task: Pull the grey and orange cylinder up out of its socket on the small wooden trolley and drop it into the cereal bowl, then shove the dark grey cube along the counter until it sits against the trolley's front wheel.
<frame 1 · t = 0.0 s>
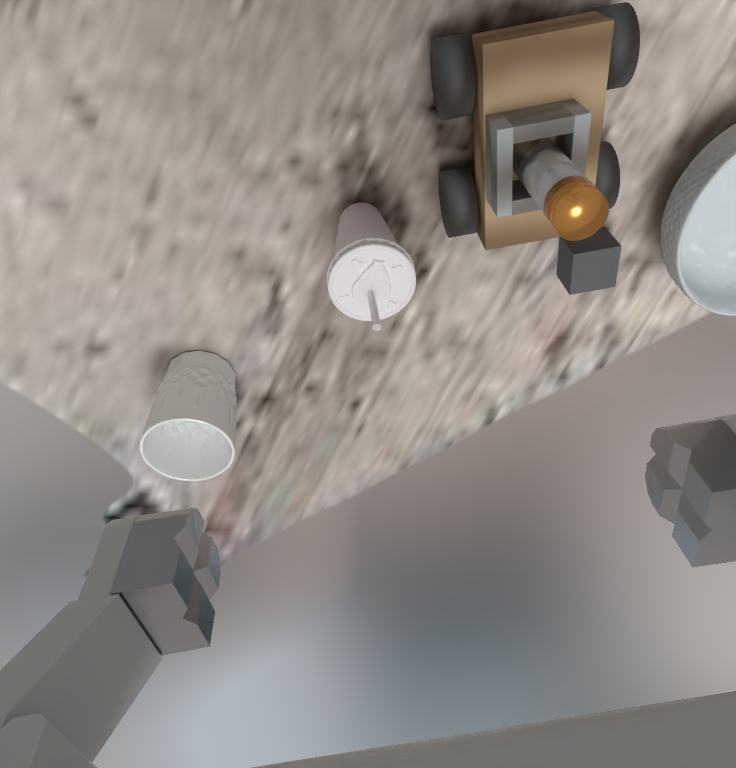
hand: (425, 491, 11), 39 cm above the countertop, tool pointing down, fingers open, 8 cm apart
white cup: (201, 375, 58), on the countertop
cereal bowl: (734, 187, 50), on the countertop
grey and orange cylinder: (527, 151, 40), point 6 cm above the countertop, touching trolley
dark grey cube: (579, 251, 53), on the countertop
smoothie: (360, 222, 49), on the countertop
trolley: (517, 120, 44), on the countertop
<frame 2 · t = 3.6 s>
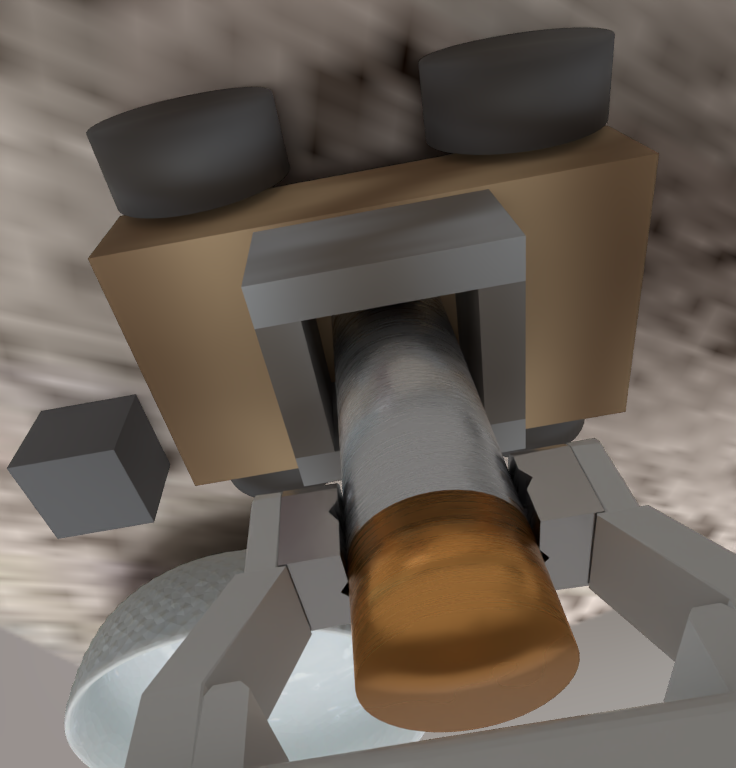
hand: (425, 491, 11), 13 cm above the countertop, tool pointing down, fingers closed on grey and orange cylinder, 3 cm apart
cereal bowl: (266, 596, 33), on the countertop
grey and orange cylinder: (386, 314, 16), point 6 cm above the countertop, touching gripper, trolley
dark grey cube: (109, 437, 25), on the countertop
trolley: (373, 258, 21), on the countertop
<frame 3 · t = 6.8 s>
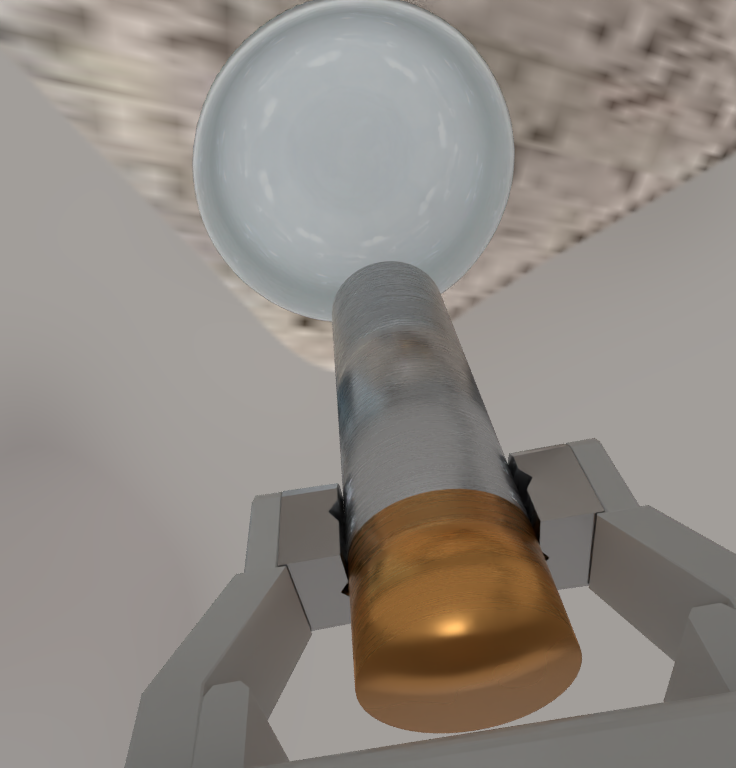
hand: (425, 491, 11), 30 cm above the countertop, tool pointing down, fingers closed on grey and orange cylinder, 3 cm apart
cereal bowl: (350, 149, 36), on the countertop
grey and orange cylinder: (387, 312, 16), point 24 cm above the countertop, touching gripper
when the fingers open (13 cm above the countertop, at t = 10.4 s): grey and orange cylinder stays where it is, resting on cereal bowl.
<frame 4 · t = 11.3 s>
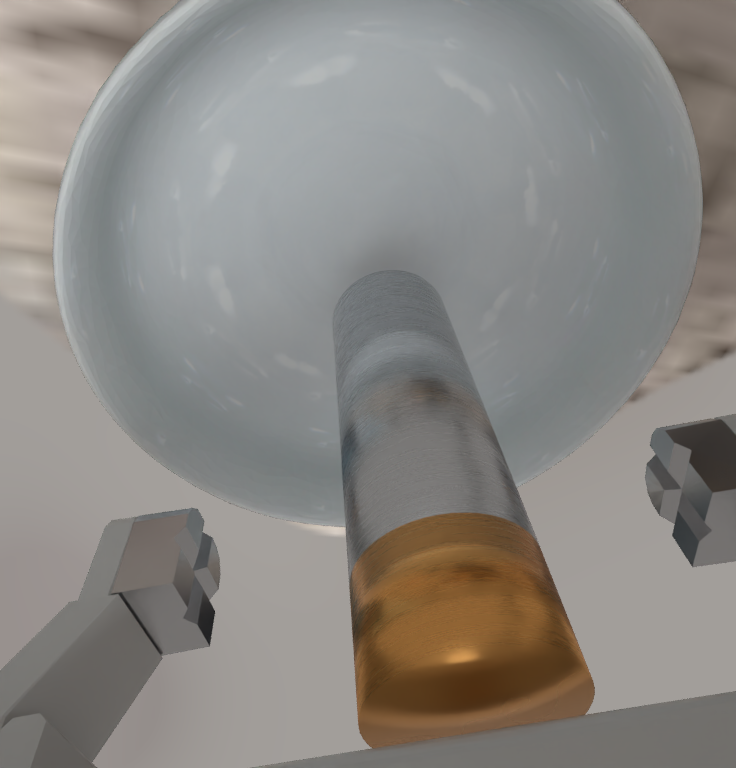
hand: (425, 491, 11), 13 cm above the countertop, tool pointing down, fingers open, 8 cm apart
cereal bowl: (367, 223, 21), on the countertop, touching grey and orange cylinder
grey and orange cylinder: (389, 322, 16), point 7 cm above the countertop, touching cereal bowl
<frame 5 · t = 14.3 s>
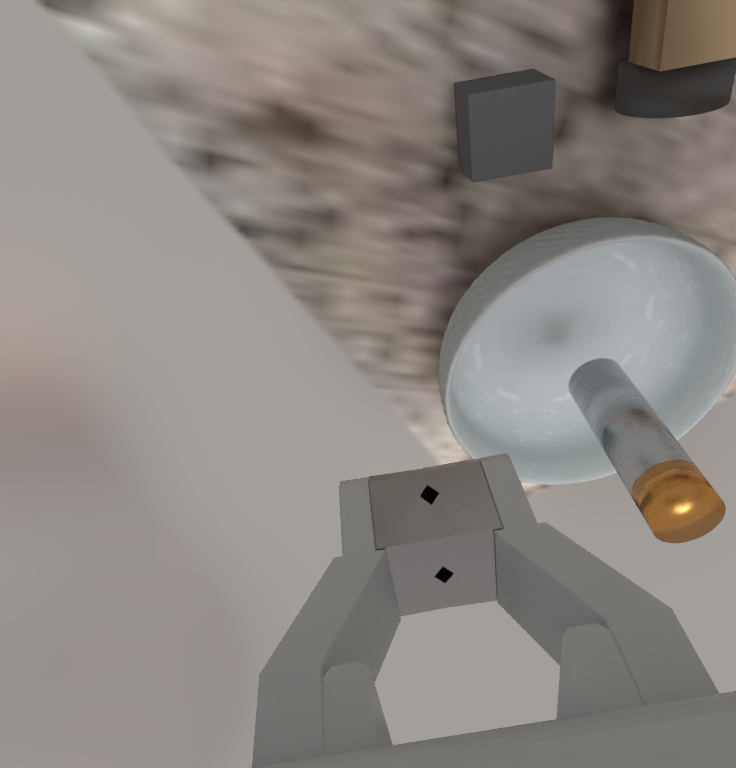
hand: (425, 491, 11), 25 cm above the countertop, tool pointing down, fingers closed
cereal bowl: (552, 316, 38), on the countertop, touching grey and orange cylinder
grey and orange cylinder: (595, 380, 32), point 7 cm above the countertop, touching cereal bowl
dark grey cube: (493, 117, 31), on the countertop
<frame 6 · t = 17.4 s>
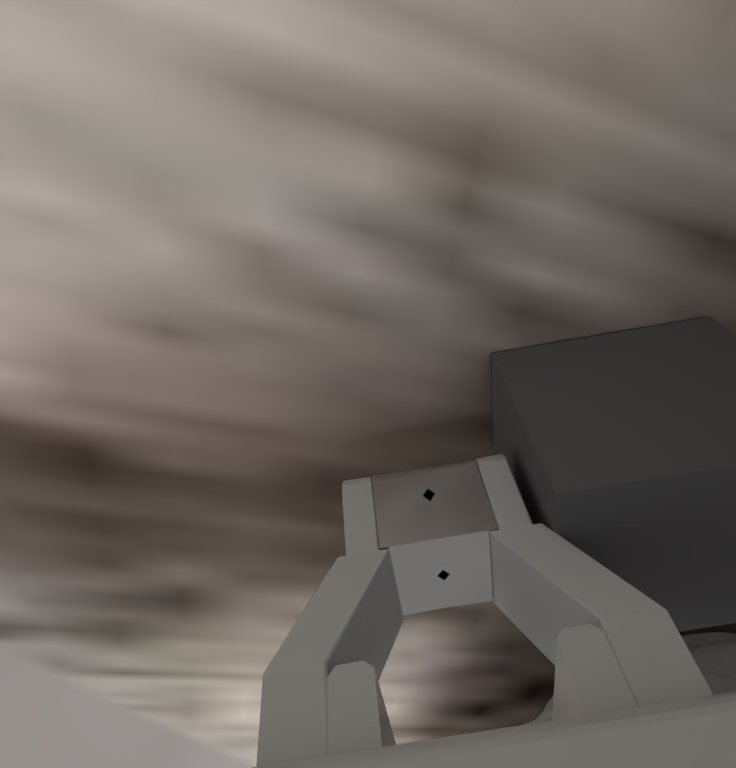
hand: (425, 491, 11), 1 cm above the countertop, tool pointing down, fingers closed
cereal bowl: (659, 692, 19), on the countertop, touching grey and orange cylinder
dark grey cube: (591, 419, 12), on the countertop, touching gripper
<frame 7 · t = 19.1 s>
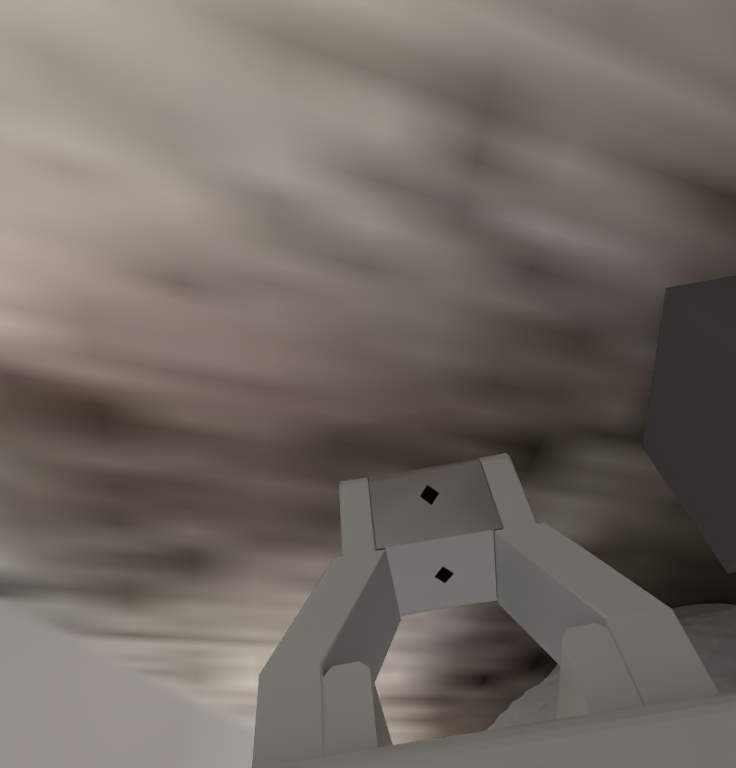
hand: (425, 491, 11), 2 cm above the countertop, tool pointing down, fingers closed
cereal bowl: (660, 665, 20), on the countertop, touching grey and orange cylinder
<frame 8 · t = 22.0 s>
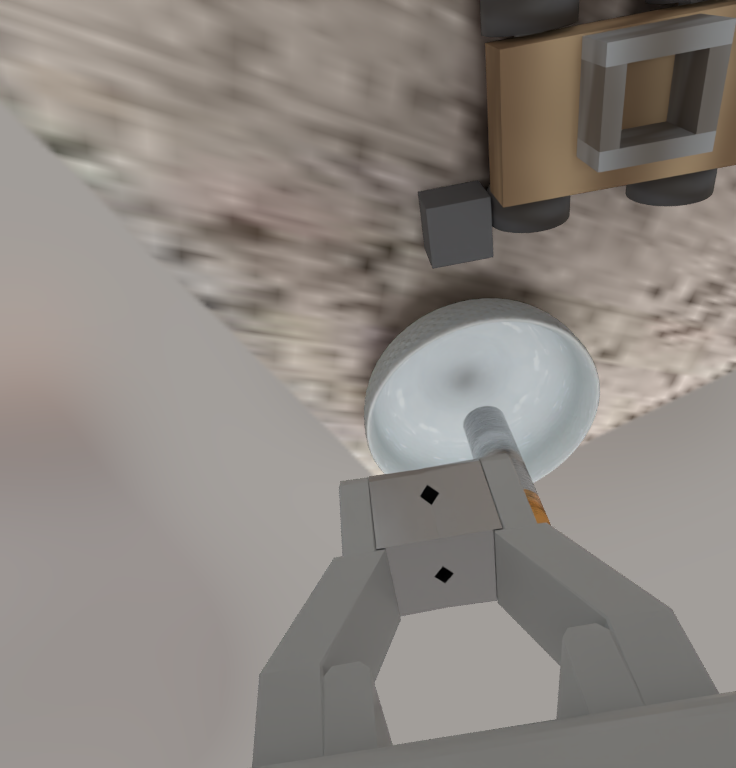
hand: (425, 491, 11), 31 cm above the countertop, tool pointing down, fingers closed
cereal bowl: (462, 365, 47), on the countertop, touching grey and orange cylinder
grey and orange cylinder: (484, 422, 42), point 7 cm above the countertop, touching cereal bowl
dark grey cube: (450, 214, 40), on the countertop
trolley: (589, 90, 36), on the countertop
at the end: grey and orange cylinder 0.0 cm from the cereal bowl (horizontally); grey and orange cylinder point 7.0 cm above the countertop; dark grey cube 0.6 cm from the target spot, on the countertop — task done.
